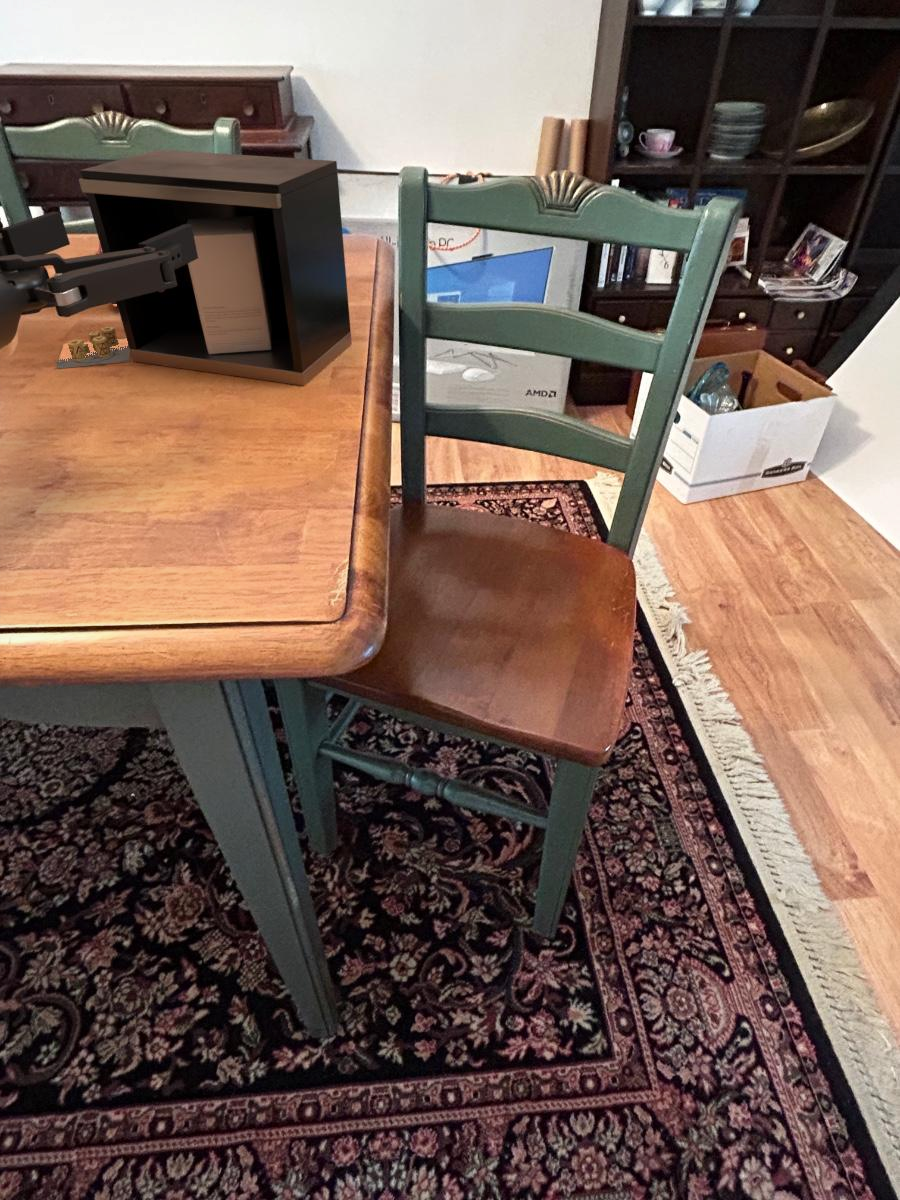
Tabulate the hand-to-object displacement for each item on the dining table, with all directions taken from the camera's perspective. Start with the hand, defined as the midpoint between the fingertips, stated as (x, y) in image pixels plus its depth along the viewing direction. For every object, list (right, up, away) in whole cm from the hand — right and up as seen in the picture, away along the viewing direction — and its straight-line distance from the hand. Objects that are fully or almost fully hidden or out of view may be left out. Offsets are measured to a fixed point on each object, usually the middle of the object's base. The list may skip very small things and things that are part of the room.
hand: (125, 234), depth 66 cm
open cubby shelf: (+5, -4, +21) cm, 22 cm away
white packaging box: (+5, -3, +20) cm, 21 cm away
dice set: (-13, -3, +22) cm, 26 cm away
